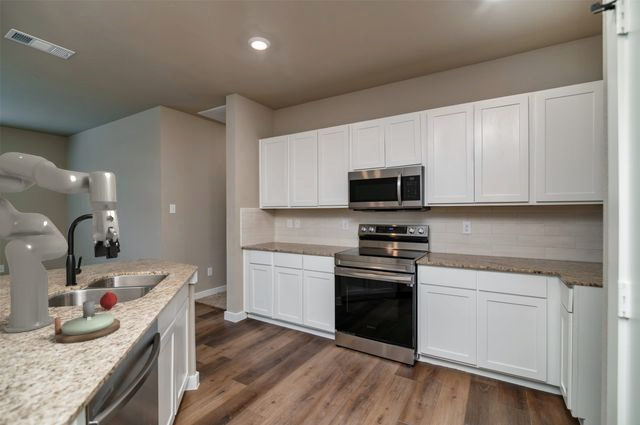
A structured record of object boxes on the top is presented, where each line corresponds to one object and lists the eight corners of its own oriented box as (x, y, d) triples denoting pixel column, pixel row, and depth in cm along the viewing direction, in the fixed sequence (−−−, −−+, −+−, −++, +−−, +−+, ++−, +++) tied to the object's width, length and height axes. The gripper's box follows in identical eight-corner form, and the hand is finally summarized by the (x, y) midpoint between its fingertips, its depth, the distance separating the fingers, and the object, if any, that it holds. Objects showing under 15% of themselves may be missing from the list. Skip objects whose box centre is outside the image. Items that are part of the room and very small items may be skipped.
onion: (108, 312, 117) (107, 292, 117) (96, 312, 118) (95, 292, 118) (120, 308, 123) (120, 288, 123) (109, 307, 124) (108, 288, 124)
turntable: (115, 327, 97) (115, 306, 97) (60, 339, 89) (60, 315, 89) (112, 316, 108) (112, 297, 108) (63, 325, 100) (63, 304, 100)
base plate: (39, 342, 91) (39, 321, 91) (89, 321, 108) (88, 303, 108) (89, 344, 89) (89, 322, 89) (132, 323, 106) (131, 304, 106)
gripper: (127, 206, 100) (129, 257, 100) (106, 208, 110) (108, 254, 110) (100, 206, 94) (103, 260, 94) (81, 209, 104) (83, 257, 104)
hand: (106, 257), depth 102 cm, fingers open, 9 cm apart
